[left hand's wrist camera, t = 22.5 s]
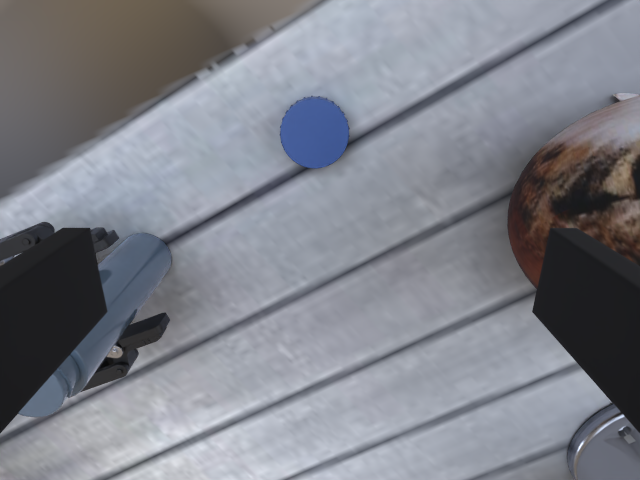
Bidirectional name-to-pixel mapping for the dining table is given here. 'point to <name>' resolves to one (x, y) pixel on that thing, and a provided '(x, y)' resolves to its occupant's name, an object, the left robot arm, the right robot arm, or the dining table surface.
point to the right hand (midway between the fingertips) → (139, 281)
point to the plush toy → (582, 186)
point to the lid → (314, 132)
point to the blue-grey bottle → (107, 317)
